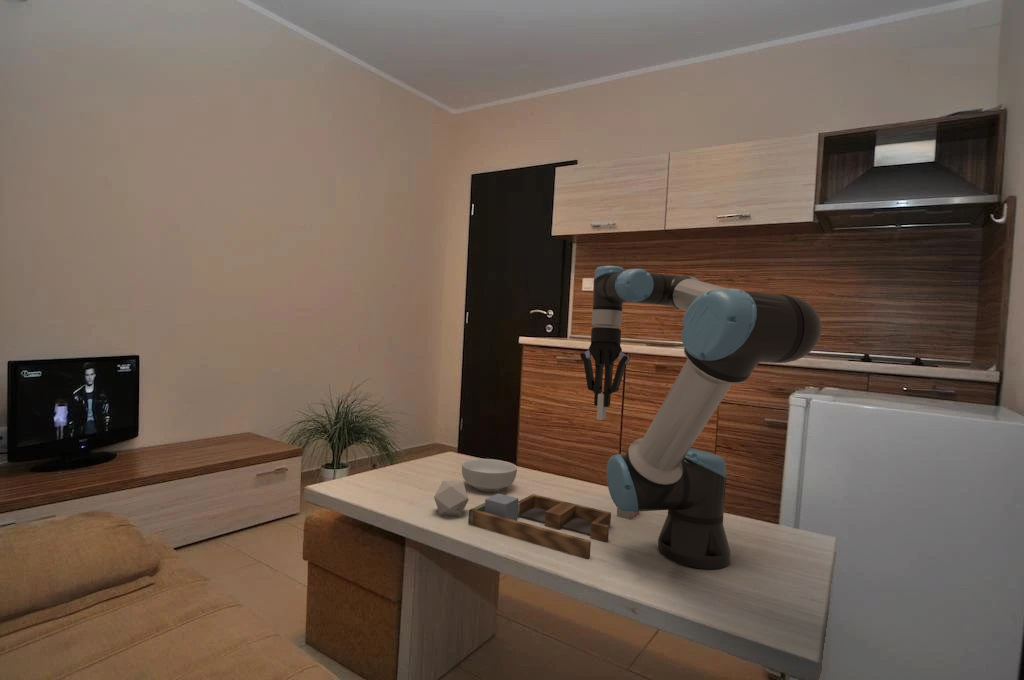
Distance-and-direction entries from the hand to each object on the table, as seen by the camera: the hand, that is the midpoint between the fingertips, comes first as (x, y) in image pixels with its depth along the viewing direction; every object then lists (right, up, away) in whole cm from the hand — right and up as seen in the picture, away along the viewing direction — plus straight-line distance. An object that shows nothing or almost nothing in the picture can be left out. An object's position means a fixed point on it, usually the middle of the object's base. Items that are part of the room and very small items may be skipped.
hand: (601, 419), depth 129 cm
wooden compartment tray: (-15, -26, -5) cm, 30 cm away
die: (-39, -25, 0) cm, 46 cm away
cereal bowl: (-30, -25, +24) cm, 46 cm away
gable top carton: (+8, -27, +7) cm, 29 cm away
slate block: (-26, -25, -4) cm, 36 cm away
